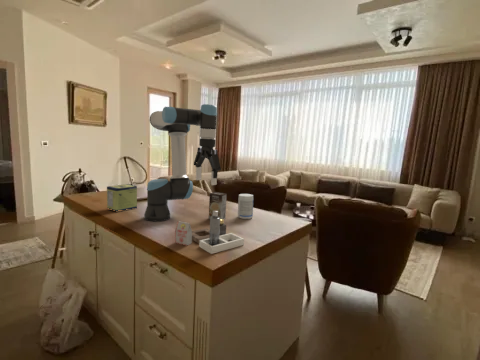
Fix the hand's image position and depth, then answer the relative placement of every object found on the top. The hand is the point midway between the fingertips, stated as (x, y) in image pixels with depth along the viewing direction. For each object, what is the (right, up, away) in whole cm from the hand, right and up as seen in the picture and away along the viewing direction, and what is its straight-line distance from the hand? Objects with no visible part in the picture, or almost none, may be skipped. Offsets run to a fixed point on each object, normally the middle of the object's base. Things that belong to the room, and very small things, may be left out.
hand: (205, 182), depth 130 cm
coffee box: (+2, -23, +36) cm, 43 cm away
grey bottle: (+5, -29, -10) cm, 31 cm away
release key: (+6, -26, +9) cm, 28 cm away
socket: (+1, -27, +5) cm, 28 cm away
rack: (+8, -29, -7) cm, 31 cm away
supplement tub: (+20, -23, +42) cm, 52 cm away
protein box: (-62, -18, +48) cm, 80 cm away
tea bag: (-10, -28, -6) cm, 31 cm away
